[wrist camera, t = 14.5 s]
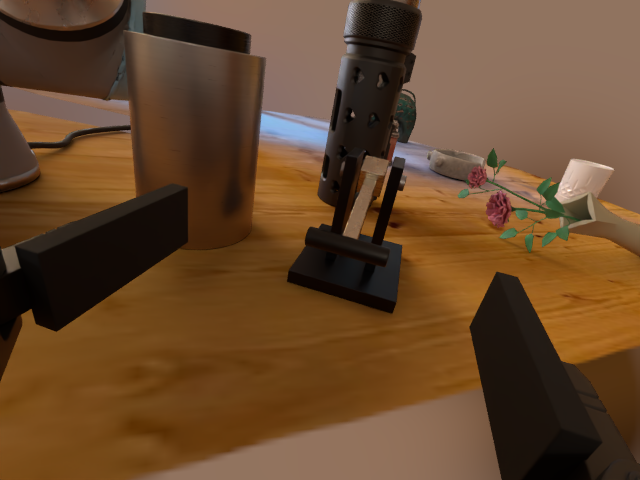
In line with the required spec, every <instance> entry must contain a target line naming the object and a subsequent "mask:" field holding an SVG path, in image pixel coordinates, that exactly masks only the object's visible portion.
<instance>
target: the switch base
mask: <svg viewBox="0 0 640 480" xmlns="http://www.w3.org/2000/svg"><path fill="white" fill-rule="evenodd" d="M364 151H365V150H364V149H360V148H356V147H355V148H354V149H353V150H352V151H351V152H350V153H349V154H348V155H347V156H346V160H345V162H343V163H342V166H341V170H340V176H342V179H341V184H340V189H339V194H338V199H337V203H336V208H335V213H334V218H333V223H332V226H329V225H325V224H321V225H320V227H319V228H318V229H322V230H326V231H329V232H333V233H337V234H340V235H343V233H344V230H345V228H346V225H347V223H348V220H349V216H350V211H351V207H352V203H353V198H354V194H355V190H356V185H357V181H358V177H359V172H360V168H361V164H362V159H363V155H364ZM404 164H405V159H404V158H399V157H395V159H394V162H393V165H392V168H391V172H390V175H389V179H388V183H387V186H386V190H385V194H384V197H383V201H382V205H381V208H380V212H379V216H378V219H377V223H376V227H375V230H374V234H373V237H370V236H366V235H362V234H360V235H359V238H358V240H362V241H366V242H369V243H373V244H377V245H380V246H384V247H388V248H390V254H389V257H388V261H387V264H386V267H380V266H377V265H373V264H370V263H366V262H363V261H359V260H356V259H352V258H349V257H345V256H342V255H338V254H335V253H331V252H327V251H324V250H320V249H317V248H313V247H310V246H306V247H305V248H304V250H303V251H302V252H301V254H300V255H299V257H298V258H297V259H296V261H295V262H294V264H293V265H292V267H291V268H290V269H289V272H288V279H287V282H290V283H293V284H297V285H300V286H303V287H307V288H310V289H313V290H316V291H320V292H323V293H326V294H330V295H333V296H336V297H339V298H343V299H346V300H349V301H353V302H356V303H359V304H362V305H366V306H369V307H372V308H376V309H379V310H382V311H386V312H389V313H393V311H394V308H395V305H396V302H397V292H398V282H399V273H400V263H401V253H402V245H399V244H396V243H392V242H388V241H384V240H383V239H384V235H385V232H386V228H387V225H388V221H389V218H390V215H391V211H392V208H393V204H394V201H395V197H396V194H397V190H399V191H403V188H404V185H405V182H406V178H407V176H403V175H402V173H403V170H404Z"/></svg>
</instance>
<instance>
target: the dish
mask: <svg viewBox="0 0 640 480" xmlns="http://www.w3.org/2000/svg"><path fill="white" fill-rule="evenodd" d="M427 159H428V160H430V163H429V167H430V168H431V169H432V170H433V171H435V172H437V173H439V174H442V175H445V176H448V177H451V178H455V179H460V180H466V179H468V175H469V173H471V172H472V171H471V170H472V169H473V168H474V167H475V166H476V167H477V168H478V166H480V167H481V168H482V167H483V170H484V166H485V159H483V158H481V157H479V156H476V155H473V154H469V153H466V152H461V151H455V150H449V149H435V150H434V151H433V152H431V151H429V152H428V153H427Z"/></svg>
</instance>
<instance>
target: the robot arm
mask: <svg viewBox="0 0 640 480" xmlns="http://www.w3.org/2000/svg"><path fill="white" fill-rule="evenodd" d="M145 9H146V0H0V192H2V191H7V190H10V189H14V188H17V187H20V186H23V185H26V184H28V183H30V182H32V181H33V180H35V179H36V178H37V177H38V176H39V175H40V169H39V164H38V161H37V158H36V156H35V153H34V152H33V150H31V149H35V148H62V147H65V146H67V145H68V144H69V143H70V142H71V141H72V139H73V138H75V137H78V136H81V135H86V134H92V133H101V132H110V131H120V130H131V125H124V126H110V127H99V128H90V129H83V130H78V131H74V132H71V133H69V134H68V135H67V136H66V137H65V139H64V140H63V141H60V142H27V141H26V140H25V138H24V136H23V135H22V133H21V131H20V130H19V128H18V126H17V125H16V123H15V121H14V120H13V118H12V117H11V115H10V114H9V112H8V110H7V108H6V105H5V101H4V97H3V93H2V88H1V85H3V86H10V87H19V88H27V89H35V90H42V91H49V92H57V93H64V94H71V95H78V96H85V97H92V98H99V99H103V100H106V101H108V100H111V99H114V100H126V101H129V98H128V86H127V73H126V60H125V48H124V35H123V30H126V31H131V32H136V33H141V34H144V33H143V16H142V13H143V12H145ZM186 243H188V187H185V186H181V185H178V184H174V183H172V184H169V185H166V186H164V187H161V188H159V189H156V190H154V191H151V192H149V193H146V194H144V195H141V196H139V197H136V198H134V199H131V200H129V201H126V202H124V203H121V204H119V205H116V206H114V207H111V208H109V209H106V210H104V211H101V212H99V213H96V214H94V215H91V216H88V217H86V218H83V219H81V220H78V221H74V222H70V223H68V224H65V225H63V226H60V227H58V228H57V229H53V230H50V231H48V232H45V234H40V235H37V236H35V237H32V238H30V239H27V240H25V241H22V242H20V243H17V244H15V245H12V246H10V247H7V248H4V249H2V250H1V247H0V381H1V378H2V376H3V373H4V371H5V368H6V366H7V363H8V360H9V358H10V355H11V353H12V350H13V348H14V345H15V342H16V340H17V337H18V335H19V332H20V330H21V327H22V318H21V314H23V313H25V312H26V311H28V310H30V309H32V312H33V315H34V319H35V323H36V324H37V325H40V326H43V327H45V328H48V329H51V330H53V331H56V332H57V331H58V330H60V329H61V328H63V327H64V326H66V325H67V324H69V323H70V322H72V321H73V320H75V319H76V318H77V317H79V316H80V315H82V314H83V313H85V312H86V311H88V310H89V309H91V308H92V307H94V306H95V305H97V304H98V303H100V302H101V301H102V300H104V299H105V298H107V297H108V296H110V295H111V294H113V293H114V292H116V291H117V290H119V289H120V288H122V287H123V286H124V285H126V284H127V283H129V282H130V281H132V280H133V279H135V278H136V277H138V276H139V275H141V274H142V273H144V272H145V271H147V270H148V269H149V268H151V267H152V266H154V265H155V264H157V263H158V262H160V261H161V260H163V259H164V258H166V257H167V256H169V255H170V254H171V253H173V252H174V251H176V250H177V249H179V248H180V247H182V246H183V245H185V244H186ZM470 331H471V336H472V341H473V346H474V350H475V355H476V360H477V365H478V369H479V374H480V379H481V384H482V388H483V392H484V398H485V402H486V407H487V412H488V417H489V421H490V426H491V431H492V435H493V440H494V444H495V450H496V455H497V459H498V464H499V468H500V474H501V478H502V480H640V464H638V463H637V462H636V460H635V458H634V457H633V455H632V453H631V452H630V450H629V448H628V446H627V445H626V443H625V441H624V440H623V438H622V436H621V434H620V433H619V431H618V429H617V427H616V426H615V424H614V422H613V421H612V419H611V417H610V415H609V414H607V413H606V411H607V410H606V408H605V407H604V405H603V403H602V401H601V400H599V399H598V398H599V396H598V395H597V393H596V391H595V389H594V388H593V386H592V384H591V382H590V381H589V380H588V379H587V378H586V377H585V376H584V375H583V374H582V373H581V372H580V370H579V369H578V368H577V367H576V366H575V365H573V364H569V363H566V362H563V361H561V360H560V358H559V356H558V354H557V352H556V350H555V348H554V346H553V344H552V343H551V341H550V339H549V337H548V335H547V333H546V331H545V329H544V327H543V325H542V323H541V321H540V319H539V317H538V315H537V314H536V312H535V310H534V308H533V306H532V304H531V302H530V300H529V298H528V296H527V294H526V292H525V290H524V288H523V286H522V284H521V283H520V281H519V279H518V277H515V276H511V275H507V274H504V273H500V272H496V274H495V276H494V278H493V280H492V282H491V284H490V286H489V288H488V290H487V292H486V294H485V296H484V298H483V300H482V302H481V305H480V307H479V309H478V311H477V313H476V315H475V317H474V319H473V321H472V323H471V325H470Z"/></svg>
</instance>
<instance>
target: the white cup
mask: <svg viewBox="0 0 640 480" xmlns="http://www.w3.org/2000/svg"><path fill="white" fill-rule="evenodd" d="M614 170H615V169H613V168H610V167H608V166H604V165H601V164H597V163H593V162H589V161H585V160H580V159H571V160H570V163H569V165H568V167H567V169H566V171H565V173H564V176H563V178H562V181H561V183H560V185H559V188H558V192H557V193H556V196H555V197H556V198H557V200H558V201H559V202H563V201H566V200H568V199H571V198H574V197H576V196H579V195H582V194H584V193H587V192H590V191H591V193H592V194H593V195H594V196H595V197H596V198H597V196H598V195H599V194H600V192H601V190H602V189H603V187H604V186H605V184H606V183H607V181H608V179H609V178H610V176H611V175H612V173H613V172H614Z"/></svg>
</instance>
